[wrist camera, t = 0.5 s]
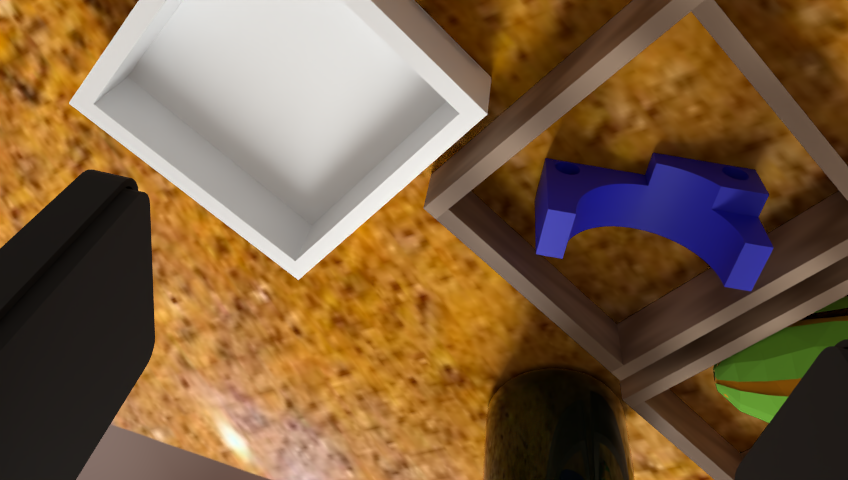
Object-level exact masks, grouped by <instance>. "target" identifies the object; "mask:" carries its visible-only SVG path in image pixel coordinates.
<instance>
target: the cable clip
mask: <svg viewBox="0 0 848 480" xmlns="http://www.w3.org/2000/svg"><path fill="white" fill-rule="evenodd" d="M768 196H769V193H768V192H767V190H766V188H765V186H764V184H763V183H762V181H761V179H760V177H759V176H758V174H757V172H756V170H753V169H747V168H741V167H735V166H730V165H724V164H718V163H712V162H706V161H700V160H694V159H688V158H682V157H676V156H670V155H664V154H658V153H653V154H652V157H651V160H650V162H649V165H648V168H647V171H646V174H645V175H643V174H637V173H631V172H625V171H619V170H613V169H607V168H601V167H596V166H590V165H584V164H578V163H572V162H566V161H560V160H554V159H548V158H546V159H545V163H544V167H543V171H542V174H541V178H540V182H539V186H538V190H537V194H536V198H535V234H536V254H538V255H544V256H549V257H555V258H561V259H563V256H564V252H565V249H566V246H567V242H568V241H569V240H570V239H571V238H572V237H573V236H574V235H576V234H578V233H580V232H582V231H584V230H587V229H591V228H596V227H604V226H620V227H629V228H635V229H640V230H644V231H648V232H651V233H655V234H658V235H660V236H663V237H666V238H668V239H670V240H672V241H675V242H677V243H679V244H680V245H682V246H684V247H686V248H688V249H689V250H691V251H692V252H694V253H695V254H697V255H698V256H699V257H700V258H702V259H703V260H704V261H705V262H706V263H707V264H709V265H710V267H711V268H712V269H713V270H714V271H715V272H716V274H717V275H718V276H719V278H720V279H721V281H722V283H723V285H724V287H728V288H734V289H740V290H746V291H752V289H753V287H754V285H755V283H756V281H757V279H758V277H759V276H760V274H761V272H762V270H763V268H764V266H765V264H766V262H767V260H768V258H769V256H770V254H771V252H772V250H773V248H774V247H773V245H772V243H771V241H770V239H769V237H768V235H767V233H766V232H765V230H764V228H763V226H762V224H761V222H760V220H759V218H758V217H759V215H760V213H761V211H762V208H763V206H764V204H765V202H766V200H767V198H768Z"/></svg>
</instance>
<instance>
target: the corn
mask: <svg viewBox="0 0 848 480" xmlns="http://www.w3.org/2000/svg"><path fill="white" fill-rule="evenodd" d="M842 308H848V297H843V298H841V299H839V300H837V301H835V302H833V303H831V304H829V305H827V306H825V307H824V308H822V309H820V310H818V311H816V312H814V313H818V312H824V311H830V310H836V309H842ZM844 339H848V316H841V317H830V318H819V319H808V320H799V321H797V322H795V323H793V324H791V325H789V326H787V327H785V328H784V329H782V330H780V331H778V332H776V333H774V334H772V335H770V336H768V337H766V338H764V339H763V340H761V341H759V342H757V343H755V344H753V345H751V346H749V347H747V348H745V349H743V350H742V351H740V352H738V353H736V354H734V355H732V356H730V357H728V358H726V359H724V360H722V361H721V362H719V363H717V364H718V366H717V364H715V365H714V368H713V373H714V380H715V385H716V388H717V391H718V392H719V393H721V394H722V395H723V396H724V397H725V398H726V399H727V400H728V401H729V402H731V403H732V404H733V405H734V406H735V407H736V408H737V409H738V410H739V411H741V412H743V413H746V414H748V415H751V416H753V417H756V418H758V419H761V420H763V421H766V422H768V423H770V421H771V420H772V419H773V417H774V416H775V415H776V413H777V412H778V410H779V409H780V408H781V406H782V405H783V404H784V402H785V401H786V399H787V398H788V397H789V395H790V394H791V393H792V391H793V390H794V388H795V387H796V386H797V384H798V383H799V381H800V380H801V379H802V377H803V376H804V375H805V373H806V372H807V370H808V369H809V368H810V366H811V365H812V364H813V362H814V361H815V359H816V358H817V357H818V355H819V354H820V353H821V352H822V351H823V350H824V349H825V348H827V347H829V346H835V345H836V344H837V343H838V342H840V341H842V340H844ZM716 366H717V367H716ZM714 370H715V372H714Z"/></svg>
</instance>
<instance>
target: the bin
mask: <svg viewBox="0 0 848 480" xmlns="http://www.w3.org/2000/svg"><path fill="white" fill-rule="evenodd" d="M490 86H491V77H490V76H489V75H488V74H487V73H486V72H485V71H484V70H483V69H482V68H481V67H480V66H479V65H478V64H477V63H476V62H475V61H474V60H473V59H472V58H471V57H470V56H469V55H468V54H467V53H466V52H465V51H464V50H463V49H462V48H461V47H460V45H459V44H458V43H457V42H456V41H455V40H454V39H453V38H452V37H451V36H450V35H449V34H448V33H447V32H446V31H445V30H444V29H443V28H442V27H441V26H440V25H439V24H438V23H437V22H436V21H435V20H434V19H433V18H432V17H431V16H430V15H429V14H428V13H427V12H426V11H425V10H424V9H423V8H422V7H421V6H420V5H419V4H418V3H417V2H416V1H415V0H139V1H138V2H137V4H136V5H135V7H134V8H133V10H132V11H131V12H130V14H129V15H128V17H127V18H126V20H125V21H124V23H123V24H122V26H121V27H120V29H119V30H118V32H117V33H116V35H115V36H114V37H113V39H112V40H111V42H110V43H109V45H108V46H107V48H106V49H105V51H104V52H103V54H102V55H101V57H100V58H99V60H98V61H97V63H96V64H95V65H94V67H93V68H92V70H91V71H90V73H89V74H88V76H87V77H86V79H85V80H84V82H83V83H82V85H81V86H80V88H79V89H78V91H77V92H76V93H75V95H74V96H73V98H72V99H71V101H70V102H69V104H70V105H72V106H73V107H74V108H75V109H77V110H78V111H79V112H81V113H82V114H83V115H85V116H86V117H87V118H89V119H90V120H91V121H92V122H94V123H95V124H96V125H98V126H99V127H100V128H102V129H103V130H104V131H105V132H107V133H108V134H109V135H111V136H112V137H113V138H115V139H116V140H117V141H118V142H120V143H121V144H122V145H124V146H125V147H126V148H128V149H129V150H130V151H131V152H133V153H134V154H135V155H137V156H138V157H139V158H141V159H142V160H143V161H144V162H146V163H147V164H148V165H150V166H151V167H152V168H154V169H155V170H156V171H157V172H159V173H160V174H161V175H163V176H164V177H165V178H167V179H168V180H169V181H170V182H172V183H173V184H174V185H176V186H177V187H178V188H180V189H181V190H182V191H183V192H185V193H186V194H187V195H189V196H190V197H191V198H193V199H194V200H195V201H196V202H198V203H199V204H200V205H202V206H203V207H204V208H206V209H207V210H208V211H209V212H211V213H212V214H213V215H215V216H216V217H217V218H219V219H220V220H221V221H222V222H224V223H225V224H226V225H228V226H229V227H230V228H232V229H233V230H234V231H235V232H237V233H238V234H239V235H241V236H242V237H243V238H245V239H246V240H247V241H248V242H250V243H251V244H252V245H254V246H255V247H256V248H258V249H259V250H260V251H261V252H263V253H264V254H265V255H267V256H268V257H269V258H271V259H272V260H273V261H274V262H276V263H277V264H278V265H280V266H281V267H282V268H284V269H285V270H286V271H287V272H289V273H290V274H291V275H293V276H294V277H295V278H297V279H298V280H299V279H300V278H301V277H302V276H303V275H305V274H306V273H307V272H308V271H309V270H310V269H311V268H313V267H314V266H315V265H316V264H317V263H318V262H319V261H321V260H322V259H323V258H324V257H325V256H326V255H327V254H329V253H330V252H331V251H332V250H333V249H334V248H335V247H337V246H338V245H339V244H340V243H341V242H342V241H343V240H345V239H346V238H347V237H348V236H349V235H350V234H351V233H353V232H354V231H355V230H356V229H357V228H358V227H359V226H361V225H362V224H363V223H364V222H365V221H366V220H367V219H369V218H370V217H371V216H372V215H373V214H374V213H375V212H377V211H378V210H379V209H380V208H381V207H382V206H383V205H385V204H386V203H387V202H388V201H389V200H390V199H391V198H393V197H394V196H395V195H396V194H397V193H398V192H399V191H401V190H402V189H403V188H404V187H405V186H406V185H407V184H409V183H410V182H411V181H412V180H413V179H414V178H415V177H417V176H418V175H419V174H420V173H421V172H422V171H423V170H424V169H426V168H427V167H428V166H429V165H430V164H431V163H432V162H434V161H435V160H436V159H437V158H438V157H439V156H440V155H442V154H443V153H444V152H445V151H446V150H447V149H448V148H450V147H451V146H452V145H453V144H454V143H455V142H456V141H458V140H459V139H460V138H461V137H462V136H463V135H464V134H466V133H467V132H468V131H469V130H470V129H471V128H472V127H474V126H475V125H476V124H477V123H478V122H479V121H480V120H482V119H483V118H484V117H485V116H486V115H487V114H488V105H489V96H490Z"/></svg>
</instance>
